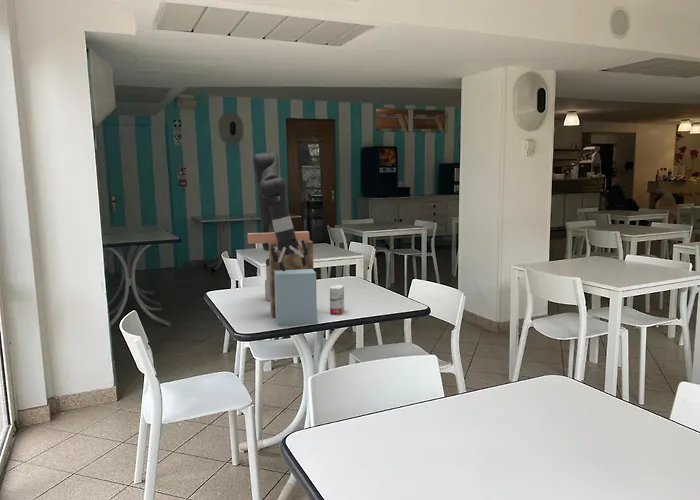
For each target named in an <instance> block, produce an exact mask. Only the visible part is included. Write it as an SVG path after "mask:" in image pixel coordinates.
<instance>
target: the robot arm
mask: <svg viewBox="0 0 700 500" xmlns="http://www.w3.org/2000/svg"><path fill="white" fill-rule="evenodd" d="M278 156H279V155H278V154H277V153H276V152H273V151H272V152H271V151H269V152H260V153H259V152H258V153H254V154H253V157H252V165H253V170H254V175H255V180H256V181H255V182H256V188H257V191H256V192H257V201H258V202H257V203H258V211H259V217H260V224H261V225H260V227H261V233H270V232H271V231H270V230H269V229H270V227H271V225H272V228H273V232H275V235H276V239H277V243H278V246H277V247H272V248H271V252H272V257H273V261H274V262H278V263H279V265H280V269H281V270H282V271H283V272H284V271H285V266H284V262H283V261H282V260H283V258H284V256H285V255H289V254H294V253H296V254H298V255H299V256H301V257H302V258H301V260H302V264H303V267H305V266H306V264H307V262H306V258H305V256H306V255H307V254H308V253H309V251H308V248H307V245H306V241H305V240H304V239H303V240H302V241H297V239H296V235H295V232H296V231H295V228H294V225H293V222H292V218H291V216H290V212H289V208H288V202H287V183H286V180H285V179H284V178H283V177H280V160H279V157H278ZM299 244H300V245H301V246H303V249H304V252H305V253H303V252H302V251H301V250H300V249H298V245H299ZM261 245H262V249H263V250H264V251H265V252H266V251H267V252H269V243H261ZM277 249H279V250H280V251H281V254H280V257H279V259H277V254H276V252H277ZM265 274H266V275H265V276H266V279H265V280H264V291H265V292H264V293H265V294H264V296H265V297H264V298H265V300H267V301H269V302H270V274H269V257H268V258H267V259H266V260H265Z"/></svg>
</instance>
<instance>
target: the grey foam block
mask: <svg viewBox="0 0 700 500" xmlns="http://www.w3.org/2000/svg"><path fill="white" fill-rule="evenodd" d="M274 279H275V314H276V318H275V322H276V324H277V327H284V326H296V325H298V326H299V325H312V324H317V323H318V307H317V306H318V303H317V300H318V299H317V294H318V293H317V272H316V271H315V270H314V268H313V269H300V270H285V271H284V272H283V271H282V270H279V271H274Z"/></svg>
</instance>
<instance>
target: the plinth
mask: <svg viewBox="0 0 700 500" xmlns="http://www.w3.org/2000/svg"><path fill="white" fill-rule="evenodd" d="M309 240H310V241H307V242H306V245H307V248H308V251H309V253H308V254H307V255H306V256H305V258H306V262H307V264H306V266H305V267H303V264H302V260H301V258H302V257H301V256H299V255H298V254H296V253H294V254H289V255H285V256H284V258H283V260H282V261H283V262H284V266H285V270H300V269H313V270H314V241H312V240H311V239H309ZM277 246H278V243H269V251H268V258H269V274H270V301H269V302H270V303H269V305H270V314H271V317H272V319H276V314H275V279H274V271H279V270H281V269H280V265H279V263H278V262H274V261H273V257H272V252H271V248H272V247H277ZM298 249H300V250H301V251H302V252H303V253H305V252H304V249H303V246H301V245H300V244H299V245H298ZM276 254H277V259H279V257H280V254H281V251H280V250H279V249H277V252H276Z"/></svg>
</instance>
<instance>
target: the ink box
mask: <svg viewBox="0 0 700 500" xmlns="http://www.w3.org/2000/svg"><path fill="white" fill-rule="evenodd" d="M344 311H345V284H333V285H331V286H330V287H329V315H337V316H338V315H339V316H341V314H342V313H343V312H344Z"/></svg>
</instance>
